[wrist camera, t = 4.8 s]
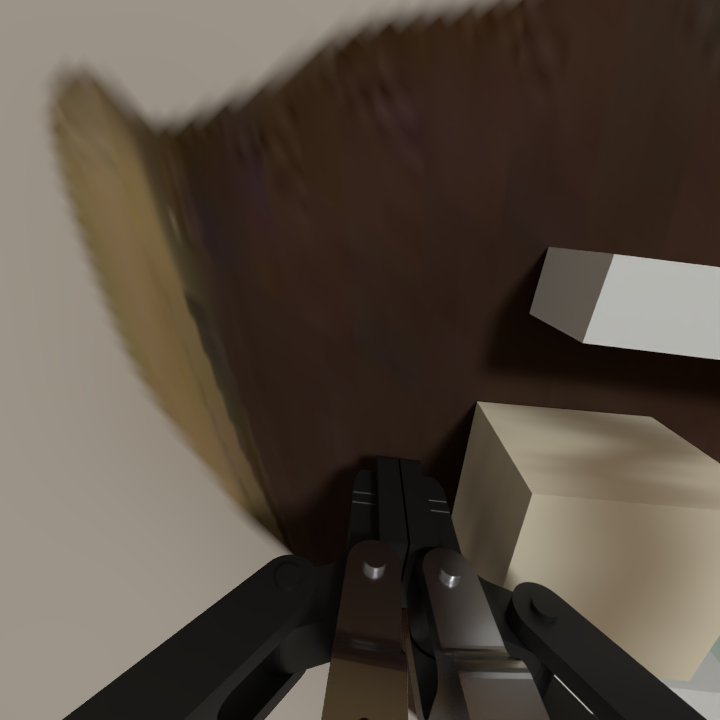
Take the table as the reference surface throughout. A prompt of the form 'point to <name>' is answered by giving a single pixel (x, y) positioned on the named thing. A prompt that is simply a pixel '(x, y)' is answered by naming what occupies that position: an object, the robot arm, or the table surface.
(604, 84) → the table surface
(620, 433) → the maple block
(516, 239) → the table surface
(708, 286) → the channel
